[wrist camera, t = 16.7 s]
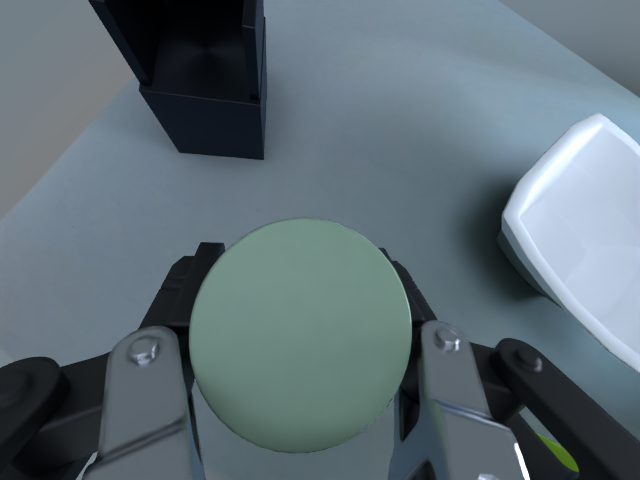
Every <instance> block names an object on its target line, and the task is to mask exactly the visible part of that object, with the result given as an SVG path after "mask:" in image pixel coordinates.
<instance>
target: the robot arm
mask: <svg viewBox="0 0 640 480" xmlns="http://www.w3.org/2000/svg"><path fill="white" fill-rule="evenodd" d="M378 249H379V250H380V251H381V252H382V253H383V254H384V255H385V257H386V258H387V259H388V260H389V262H390V263H391V265H392V266H393V268H394V269H395V271H396V272H397V274H398V276H399V278H400V280H401V282H402V285H403V287H404V290H405V293H406V295H407V299H408V303H409V307H410V313H411V321H412V341H411V350H410V356H409V360H408V364H407V368H406V371H405V374H404V376H403V379H402V382H401V384H400V386H399V388H398V390H397V392H396V394H395V395H394V448H393V454H392V458H391V462H390V467H389V475H388V480H640V441H639V440H637V439H636V438H635V437H634V436H633V435H632V434H631V433H630V432H629V431H627V430H626V429H625V428H624V427H623V426H622V425H621V424H620V423H618V422H617V421H616V420H615V419H614V418H613V417H612V416H611V415H610V414H608V413H607V412H606V411H605V410H604V409H603V408H602V407H601V406H599V405H598V404H597V403H596V402H595V401H594V400H593V399H592V398H591V397H589V396H588V395H587V394H586V393H585V392H584V391H583V390H582V389H580V388H579V387H578V386H577V385H576V384H575V383H574V382H573V381H572V380H570V379H569V378H568V377H567V376H566V375H565V374H564V373H563V372H561V371H560V370H559V369H558V368H557V367H556V366H555V365H554V364H553V363H551V362H550V361H549V360H548V359H547V358H546V357H545V356H544V355H543V354H541V353H540V352H539V351H538V350H536V349H535V348H534V347H532V346H530V345H529V344H527V343H525V342H523V341H520V340H517V339H512V338H505V339H502V340H501V341H500V342H499V343H498V344H497V346H496V347H495V348H490V347H487V346H483V345H479V344H475V343H471V342H469V341H468V339H467V338H466V337H465V335H464V334H463V333H462V332H461V331H459V330H458V329H457V328H455V327H454V326H452V325H450V324H448V323H446V322H443V321H439V320H438V319H437V318H436V316H435V315H434V313H433V311H432V310H431V308H430V307H429V305H428V303H427V302H426V300H425V299H424V297H423V295H422V294H421V292H420V291H419V289H417V286H416V284H415V283H414V281H412V278H411V276H410V275H409V273H408V271H407V270H406V269H405V268H404V267H403V266H402V265H401V264H399V263H398V262H397V261H392V260H391V259H390V257H389V255H388V253H387V252H386V250H385V249H384V248H378ZM224 252H225V246H224V243H210V242H201V243H200V245H199V247H198V249H197V251H196V254H195V256H183V257H182V258H181V259H180V260H178V261H177V262H176V263H175V264H173V265H172V267H171V269H170V271H169V273H168V274H167V276H166V279H165V280H164V282H163V284H162V286H161V289H159V291H158V293H157V295H156V297H155V299H154V301H153V302H152V304H151V306H150V308H149V310H148V312H147V314H146V315H145V317H144V319H143V321H142V323H141V325H140V327H139V328H138V330H137V331H134V332H132V333H131V334H129V335H127V336H126V337H124V338H123V339H122V340H121V341H120V342H118V343H117V345H116V346H115V347H114V348H113V350H112V351H111V352H108V353H106V354H104V355H101V356H98V357H95V358H91V359H87V360H84V361H80V362H77V363H73V364H70V365H66V366H63V367H60V366H59V365H58V364H57V363H56V361H55V360H53V359H51V358H47V357H31V358H25V359H22V360H18V361H15V362H13V363H10V364H8V365H6V366H3V367H1V368H0V480H76V478H77V477H78V475H79V473H80V472H81V471H82V469H83V468H84V466H85V465H86V463H87V462H88V460H89V459H90V457H91V456H92V454H93V453H95V452H97V451H98V453H97V457H96V459H95V461H94V462H93V463H92V464H90V465H89V466H88V467H87V468H86V470H85V472H84V474H83V477H82V480H206V477H205V472H204V465H203V459H202V452H201V446H200V439H199V432H198V426H197V419H196V412H195V406H194V399H193V394H192V391H191V390H192V387H193V383H194V379H195V377H194V373H193V369H192V365H191V360H190V350H189V327H190V321H191V314H192V310H193V306H194V303H195V300H196V296H197V294H198V292H199V290H200V287H201V285H202V283H203V281H204V279H205V277H206V276H207V274H208V273H209V271H210V269H211V268H212V266H213V265H214V264H215V263H216V261H217V260H218V259H219V258H220V256H221V255H222V254H223V253H224ZM525 407H527V408H528V409H529V410H530V411H531V412H532V413H533V414H534V415H535V416H536V418H537V419H538V420H539V421H540V422H541V423H542V424H543V425H544V426H545V428H546V429H547V430H548V431H549V432H550V433H551V434H552V435H553V436H554V437H555V439H556V440H557V441H558V442H559V443H560V444H561V445H562V446H563V447H564V449H565V450H566V451H567V452H568V453H569V454H570V455H571V456H572V458H573V459H574V461H575V462H576V464H577V466H578V469H579V472H576V471H573V470H571V469H569V468H568V467H566V466H565V465H564V464H563V463H562V462H561V461H560V460H559V459H558V458H557V457H556V456H555V455H554V453H553V452H552V451H551V450H550V449H549V448H548V446H547V445H546V444H545V443H544V442H543V441H542V440H541V438H540V437H539V436H538V435H537V434H536V433H535V431H534V430H533V429H532V428H531V427H530V426H529V425H528V423H527V422H526V421H525V420H524V419H523V418H522V417H521V415H520V414H519V412H520V411H521V410H522V409H523V408H525Z"/></svg>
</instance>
